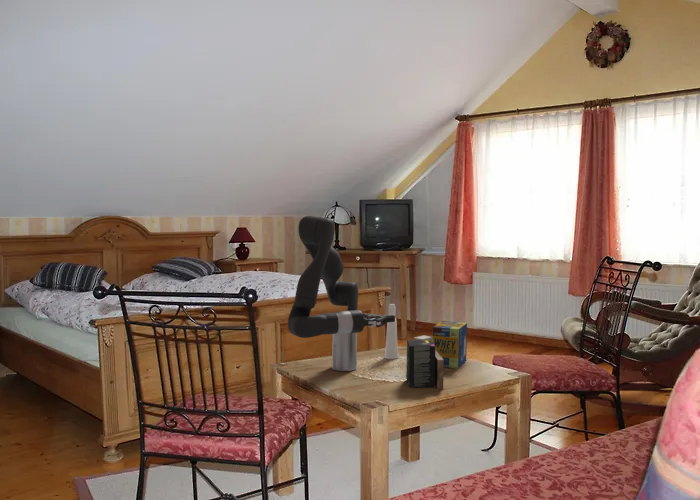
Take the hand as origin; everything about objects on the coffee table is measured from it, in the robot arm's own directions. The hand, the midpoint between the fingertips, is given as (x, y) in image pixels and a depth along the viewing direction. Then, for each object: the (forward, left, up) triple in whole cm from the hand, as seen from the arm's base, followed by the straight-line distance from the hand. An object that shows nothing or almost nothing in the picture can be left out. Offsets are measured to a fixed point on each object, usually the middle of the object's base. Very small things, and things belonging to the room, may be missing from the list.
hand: (394, 318), depth 232 cm
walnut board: (+16, +4, -23) cm, 29 cm away
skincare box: (+14, +24, -24) cm, 37 cm away
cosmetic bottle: (+4, +42, -24) cm, 49 cm away
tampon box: (+10, +2, -24) cm, 26 cm away
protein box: (+26, +32, -24) cm, 48 cm away
